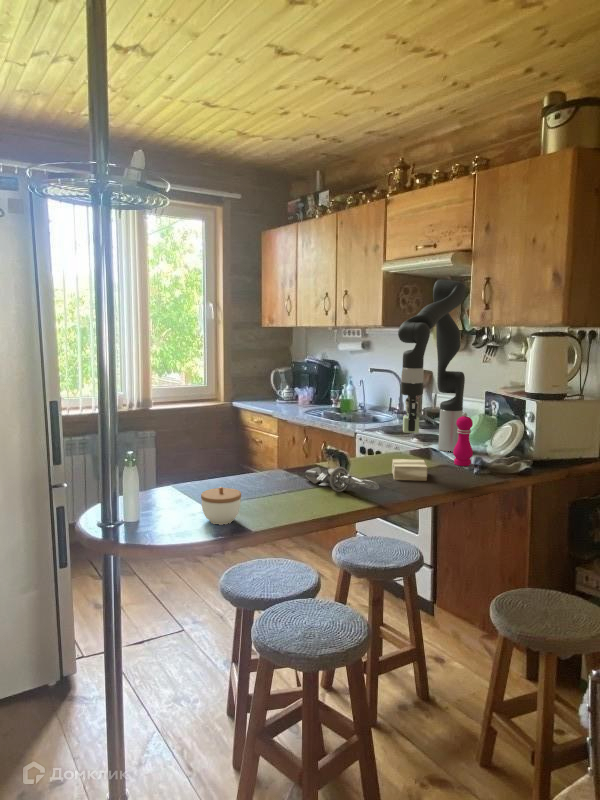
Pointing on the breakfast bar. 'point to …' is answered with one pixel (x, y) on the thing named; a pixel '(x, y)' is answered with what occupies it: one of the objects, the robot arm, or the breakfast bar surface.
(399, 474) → the birch block
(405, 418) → the green cube
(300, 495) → the breakfast bar surface
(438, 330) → the robot arm
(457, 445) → the pepper mill
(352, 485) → the spaceship
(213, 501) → the lidded jar
